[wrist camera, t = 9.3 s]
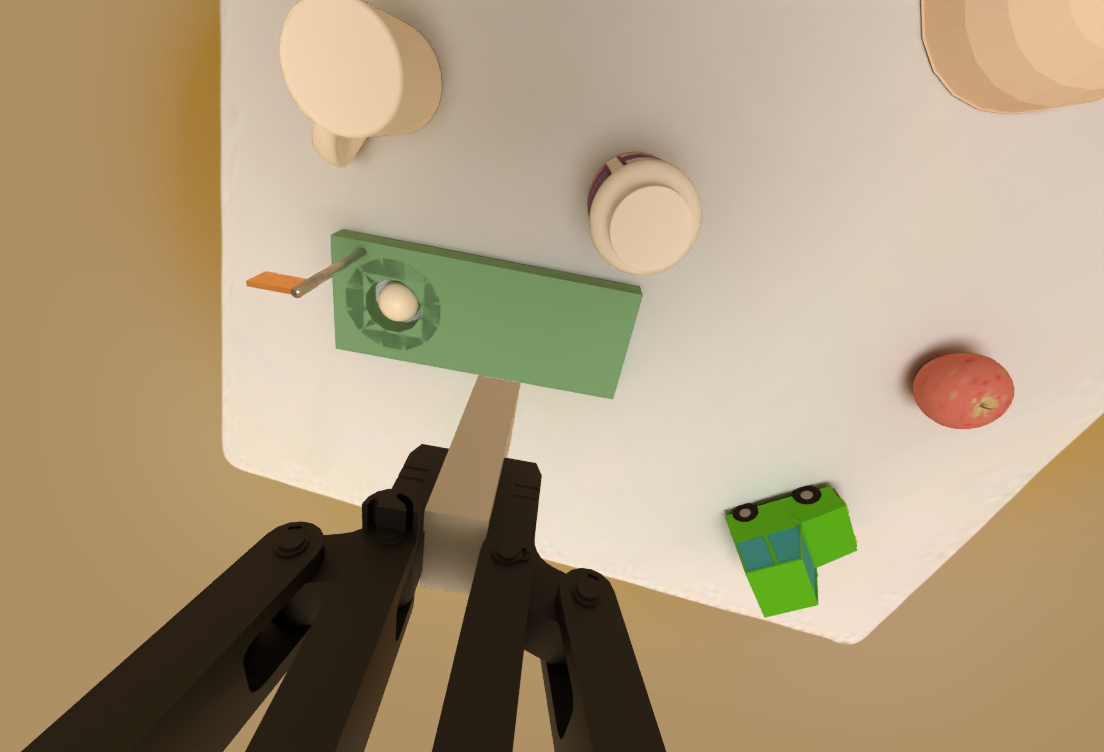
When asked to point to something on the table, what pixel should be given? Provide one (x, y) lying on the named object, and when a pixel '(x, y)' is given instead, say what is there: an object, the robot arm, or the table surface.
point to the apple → (963, 390)
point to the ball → (398, 302)
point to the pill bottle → (642, 213)
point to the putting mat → (485, 315)
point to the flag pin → (299, 284)
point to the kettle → (1017, 51)
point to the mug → (356, 74)
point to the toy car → (791, 545)
